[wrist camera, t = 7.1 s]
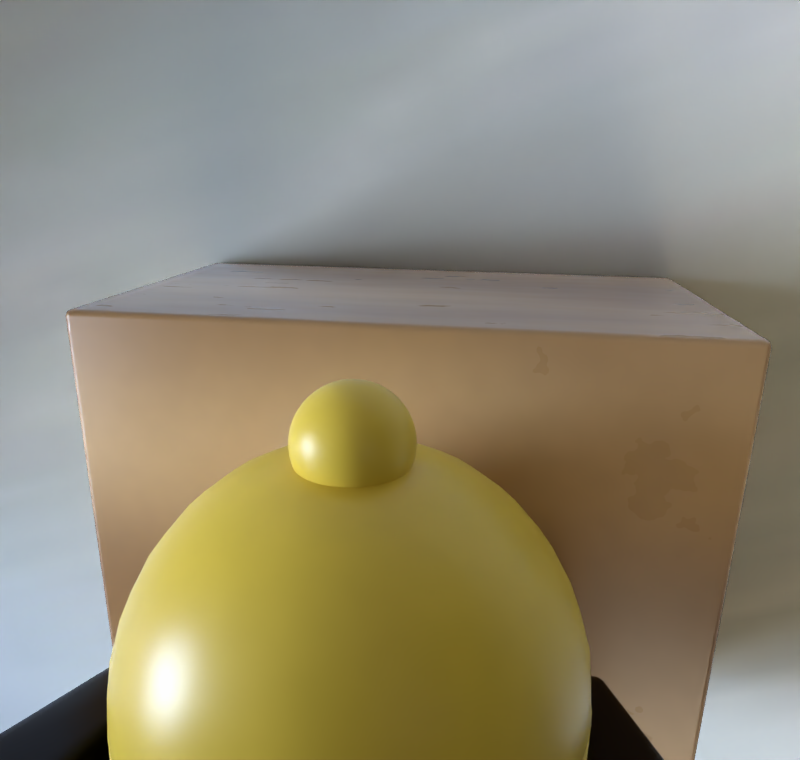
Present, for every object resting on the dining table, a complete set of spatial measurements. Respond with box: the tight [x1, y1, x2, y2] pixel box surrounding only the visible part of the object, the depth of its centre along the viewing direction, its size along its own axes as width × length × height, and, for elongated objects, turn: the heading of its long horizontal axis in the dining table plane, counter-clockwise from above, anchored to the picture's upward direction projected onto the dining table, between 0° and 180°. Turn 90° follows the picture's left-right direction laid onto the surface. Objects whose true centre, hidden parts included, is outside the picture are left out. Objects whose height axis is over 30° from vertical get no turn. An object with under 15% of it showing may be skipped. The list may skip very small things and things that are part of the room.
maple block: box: [66, 263, 771, 760], centre depth 12 cm, size 9×9×5 cm
